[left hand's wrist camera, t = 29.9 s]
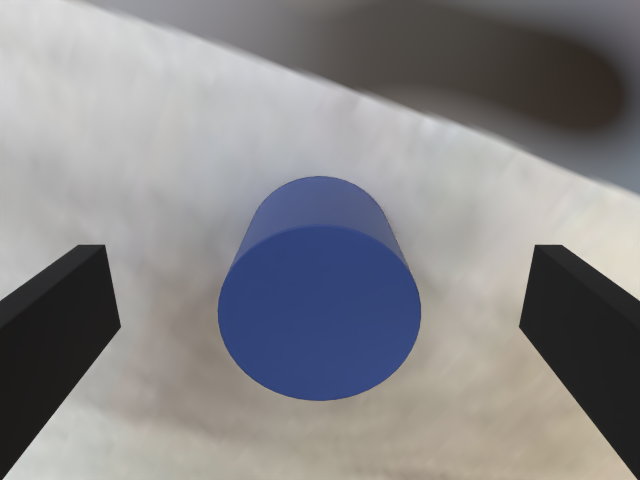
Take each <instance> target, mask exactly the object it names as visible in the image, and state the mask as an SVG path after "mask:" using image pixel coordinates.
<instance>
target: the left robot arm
mask: <svg viewBox="0 0 640 480" xmlns="http://www.w3.org/2000/svg"><path fill="white" fill-rule="evenodd" d="M120 328H121V324H120V319H119V314H118V309H117V304H116V299H115V294H114V289H113V283H112V278H111V273H110V268H109V263H108V258H107V253H106V248H105V245H77V246H76V247H75V248H73V249H72V250H70V251H69V252H68V253H66V254H65V255H64V256H62V257H61V258H59V259H58V260H57V261H55V262H54V263H52V264H51V265H50V266H48V267H47V268H45V269H44V270H43V271H41V272H40V273H39V274H37V275H36V276H34V277H33V278H32V279H30V280H29V281H27V282H26V283H25V284H23V285H22V286H20V287H19V288H18V289H16V290H15V291H14V292H12V293H11V294H9V295H8V296H7V297H5V298H4V299H2V300H1V301H0V480H3V478H4V477H5V476H6V474H7V473H8V472H9V471H10V469H11V468H12V467H13V465H14V464H15V463H16V462H17V460H18V459H19V458H20V456H21V455H22V454H23V452H24V451H25V450H26V449H27V447H28V446H29V445H30V443H31V442H32V441H33V440H34V438H35V437H36V436H37V434H38V433H39V432H40V431H41V429H42V428H43V427H44V425H45V424H46V423H47V422H48V420H49V419H50V418H51V416H52V415H53V414H54V413H55V411H56V410H57V409H58V407H59V406H60V405H61V404H62V402H63V401H64V400H65V398H66V397H67V396H68V395H69V393H70V392H71V391H72V389H73V388H74V387H75V386H76V384H77V383H78V382H79V380H80V379H81V378H82V377H83V375H84V374H85V373H86V371H87V370H88V369H89V368H90V366H91V365H92V364H93V362H94V361H95V360H96V359H97V357H98V356H99V355H100V353H101V352H102V351H103V349H104V348H105V347H106V346H107V344H108V343H109V342H110V340H111V339H112V338H113V337H114V335H115V334H116V333H117V331H118V330H119V329H120ZM519 328H520V329H521V330H522V331H523V333H524V334H525V335H526V337H527V338H528V339H529V340H530V342H531V343H532V344H533V346H534V347H535V348H536V349H537V351H538V352H539V353H540V355H541V356H542V357H543V359H544V360H545V361H546V362H547V364H548V365H549V366H550V368H551V369H552V370H553V371H554V373H555V374H556V375H557V377H558V378H559V379H560V380H561V382H562V383H563V384H564V386H565V387H566V388H567V389H568V391H569V392H570V393H571V395H572V396H573V397H574V398H575V400H576V401H577V402H578V404H579V405H580V406H581V407H582V409H583V410H584V411H585V413H586V414H587V415H588V416H589V418H590V419H591V420H592V422H593V423H594V424H595V425H596V427H597V428H598V429H599V431H600V432H601V433H602V434H603V436H604V437H605V438H606V440H607V441H608V442H609V443H610V445H611V446H612V447H613V449H614V450H615V451H616V452H617V454H618V455H619V456H620V458H621V459H622V460H623V461H624V463H625V464H626V465H627V467H628V468H629V469H630V471H631V472H632V473H633V474H634V476H635V477H636V478H637V480H640V301H639V300H638V299H636V298H635V297H633V296H632V295H631V294H629V293H628V292H626V291H625V290H624V289H622V288H621V287H620V286H618V285H617V284H615V283H614V282H613V281H611V280H610V279H608V278H607V277H606V276H604V275H603V274H601V273H600V272H599V271H597V270H596V269H595V268H593V267H592V266H590V265H589V264H588V263H586V262H585V261H583V260H582V259H581V258H579V257H578V256H576V255H575V254H574V253H572V252H571V251H570V250H568V249H567V248H565V247H564V246H563V245H535V248H534V253H533V258H532V263H531V268H530V273H529V278H528V284H527V289H526V294H525V299H524V304H523V309H522V314H521V319H520V324H519Z"/></svg>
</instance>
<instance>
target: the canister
mask: <svg viewBox="0 0 640 480" xmlns="http://www.w3.org/2000/svg"><path fill="white" fill-rule="evenodd" d="M420 320H421V303H420V298H419V293H418V290H417V287H416V284H415V281H414V279H413V276H412V274H411V272H410V270H409V268H408V265H407V263H406V261H405V259H404V256H403V254H402V252H401V250H400V248H399V245H398V243H397V241H396V239H395V236H394V234H393V232H392V230H391V228H390V225H389V223H388V221H387V219H386V217H385V215H384V213H383V211H382V209H381V208H380V206H379V205H378V204H377V202H376V201H375V200H374V199H373V198H372V197H371V196H370V195H369V194H367V193H366V192H365V191H364V190H362V189H361V188H359V187H357V186H356V185H354V184H352V183H349V182H347V181H344V180H341V179H338V178H332V177H321V176H316V177H306V178H302V179H298V180H295V181H292V182H290V183H287V184H285V185H284V186H282V187H280V188H278V189H277V190H276V191H274V192H273V193H271V194H270V195H269V196H268V197H267V198H266V199H265V200H264V202H263V203H262V204H261V205H260V207H259V208H258V210H257V211H256V213H255V215H254V217H253V219H252V221H251V224H250V226H249V228H248V230H247V232H246V235H245V237H244V239H243V241H242V243H241V246H240V248H239V250H238V252H237V254H236V256H235V259H234V261H233V263H232V265H231V267H230V270H229V272H228V274H227V276H226V279H225V281H224V283H223V286H222V289H221V293H220V297H219V303H218V323H219V327H220V332H221V335H222V338H223V341H224V343H225V346H226V348H227V350H228V351H229V353H230V355H231V356H232V358H233V359H234V361H235V362H236V363H237V365H238V366H239V367H240V368H241V369H242V370H243V371H244V372H245V373H246V374H247V375H249V376H250V377H251V378H252V379H253V380H255V381H256V382H258V383H259V384H261V385H263V386H264V387H266V388H268V389H270V390H272V391H274V392H277V393H279V394H282V395H285V396H288V397H293V398H297V399H303V400H312V401H326V400H336V399H342V398H347V397H350V396H354V395H357V394H360V393H362V392H364V391H367V390H369V389H371V388H373V387H375V386H376V385H378V384H380V383H381V382H383V381H384V380H385V379H387V378H388V377H389V376H391V375H392V374H393V373H394V372H395V371H396V370H397V369H398V368H399V367H400V365H401V364H402V363H403V362H404V361H405V359H406V358H407V356H408V355H409V353H410V351H411V350H412V348H413V345H414V343H415V341H416V338H417V335H418V331H419V328H420Z"/></svg>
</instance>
